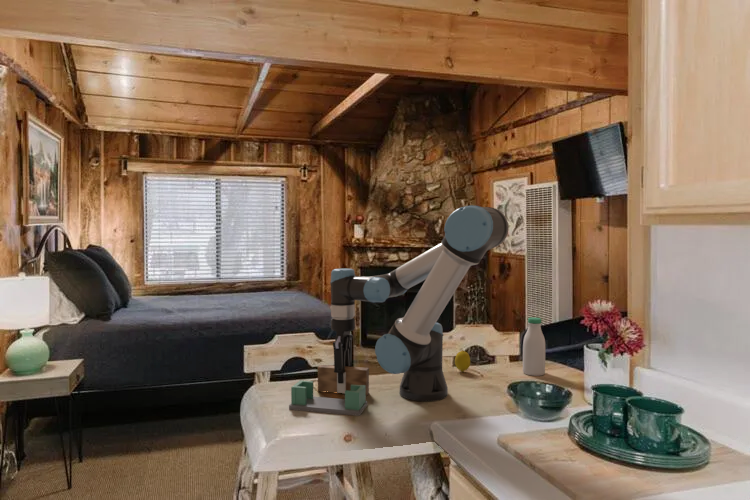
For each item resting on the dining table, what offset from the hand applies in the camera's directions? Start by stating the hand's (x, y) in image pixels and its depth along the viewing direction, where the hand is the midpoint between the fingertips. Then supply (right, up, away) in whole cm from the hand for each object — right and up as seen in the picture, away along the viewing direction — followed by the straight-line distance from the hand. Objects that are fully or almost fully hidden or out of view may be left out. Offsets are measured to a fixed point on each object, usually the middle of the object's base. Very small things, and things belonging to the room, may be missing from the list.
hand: (343, 390), depth 168 cm
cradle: (-3, -1, -14) cm, 14 cm away
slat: (0, -1, 0) cm, 1 cm away
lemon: (+42, 0, +24) cm, 48 cm away
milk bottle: (+67, 0, +23) cm, 71 cm away
